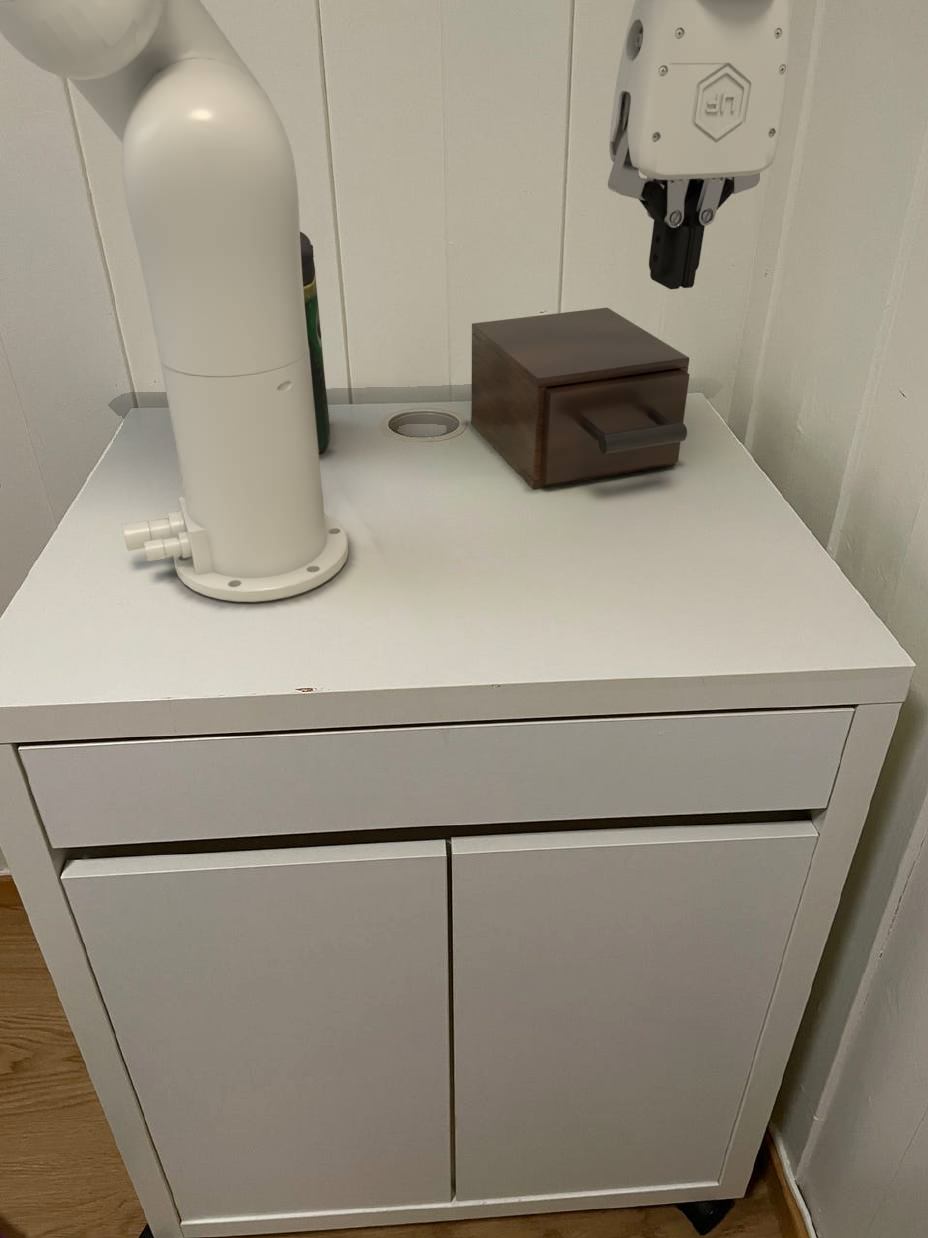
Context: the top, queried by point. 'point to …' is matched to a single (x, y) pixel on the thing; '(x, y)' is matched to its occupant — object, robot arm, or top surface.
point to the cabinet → (551, 374)
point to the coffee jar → (314, 341)
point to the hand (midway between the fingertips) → (671, 282)
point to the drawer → (613, 425)
